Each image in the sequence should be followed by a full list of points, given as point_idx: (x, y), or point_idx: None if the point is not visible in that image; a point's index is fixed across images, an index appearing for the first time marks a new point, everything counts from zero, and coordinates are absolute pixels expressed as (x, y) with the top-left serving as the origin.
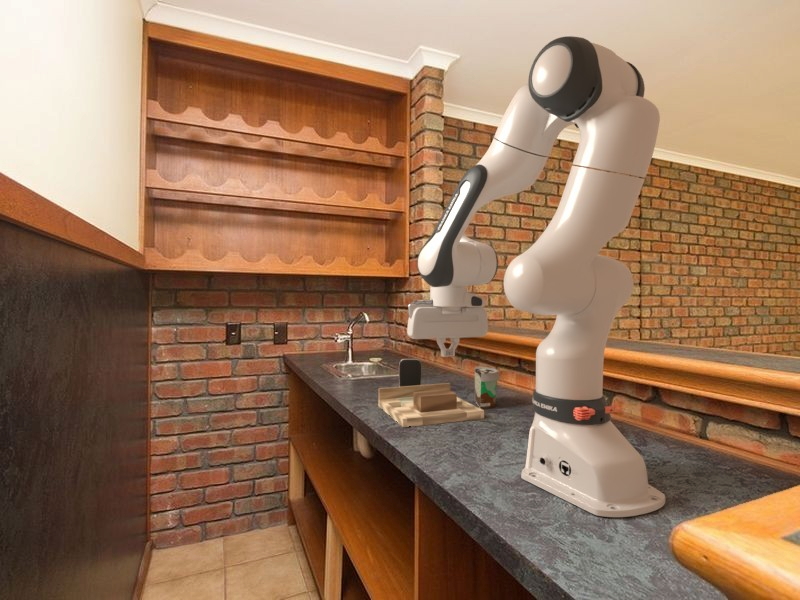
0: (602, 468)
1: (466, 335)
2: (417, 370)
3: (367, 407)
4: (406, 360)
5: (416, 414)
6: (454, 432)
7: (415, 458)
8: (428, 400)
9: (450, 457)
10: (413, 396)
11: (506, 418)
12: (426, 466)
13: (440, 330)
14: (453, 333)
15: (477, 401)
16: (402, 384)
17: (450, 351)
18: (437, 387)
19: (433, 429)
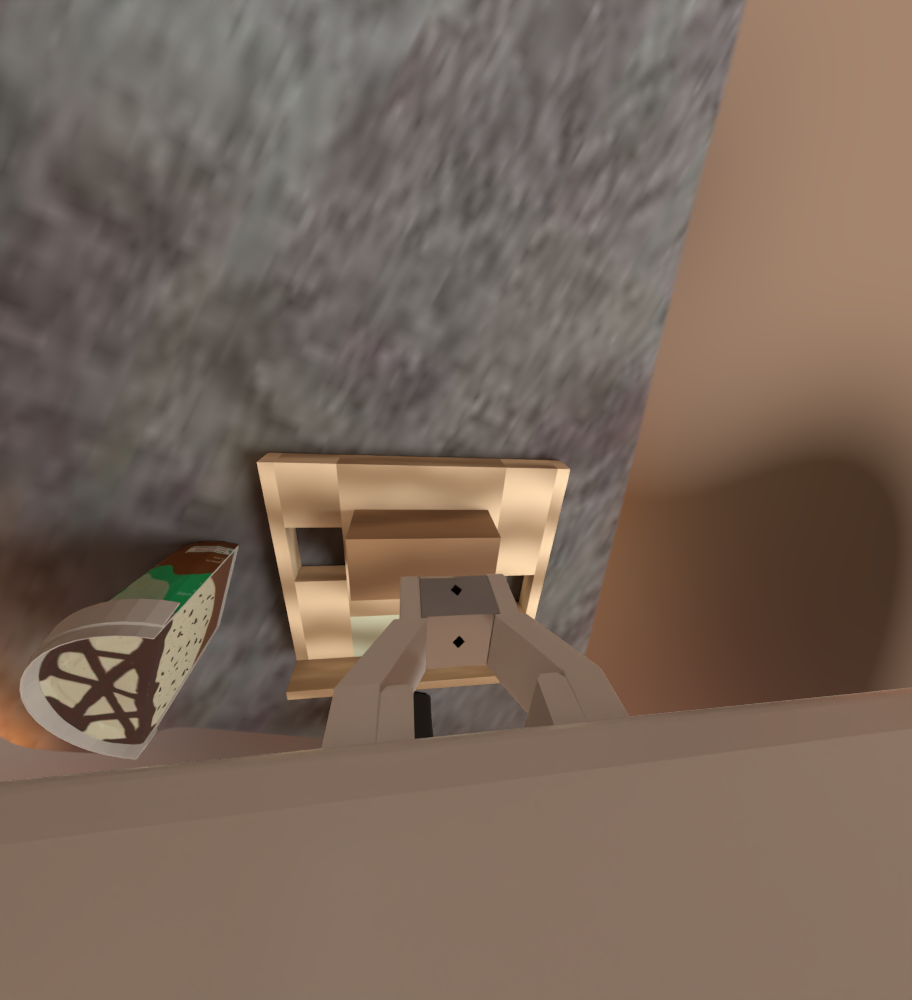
0: None
1: (157, 797)
2: None
3: None
4: None
5: (510, 496)
6: (442, 356)
7: (689, 169)
8: (467, 529)
9: (594, 105)
10: None
11: (175, 423)
12: (711, 64)
13: (800, 874)
14: (475, 818)
15: (221, 598)
16: (425, 726)
17: (449, 601)
18: (340, 678)
19: (489, 411)
